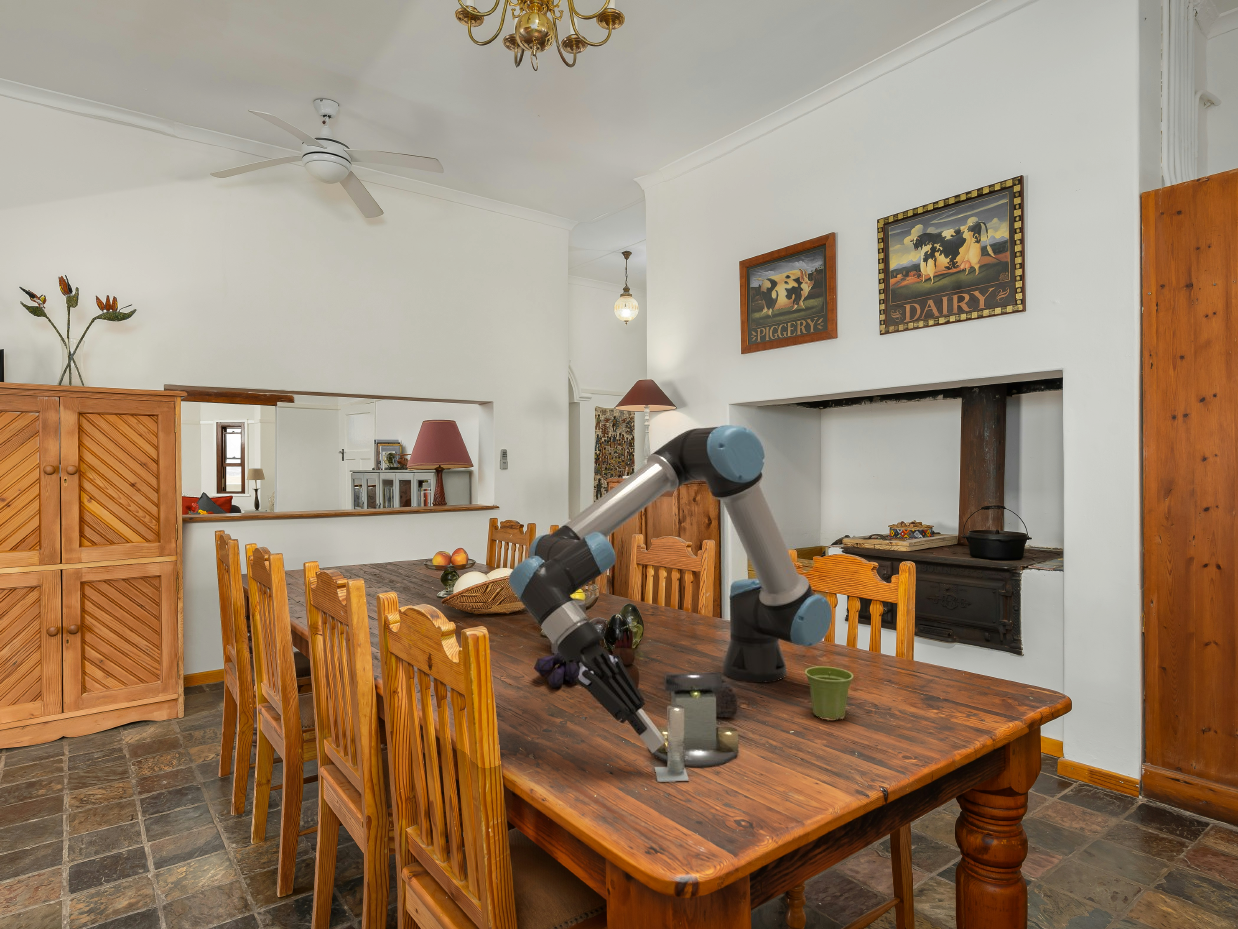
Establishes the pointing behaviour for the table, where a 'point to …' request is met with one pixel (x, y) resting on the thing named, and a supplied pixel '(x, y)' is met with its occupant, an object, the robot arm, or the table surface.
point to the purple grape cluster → (563, 669)
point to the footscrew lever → (674, 738)
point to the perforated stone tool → (726, 701)
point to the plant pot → (829, 690)
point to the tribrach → (700, 720)
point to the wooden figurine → (627, 656)
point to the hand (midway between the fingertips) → (659, 747)
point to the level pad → (670, 775)
